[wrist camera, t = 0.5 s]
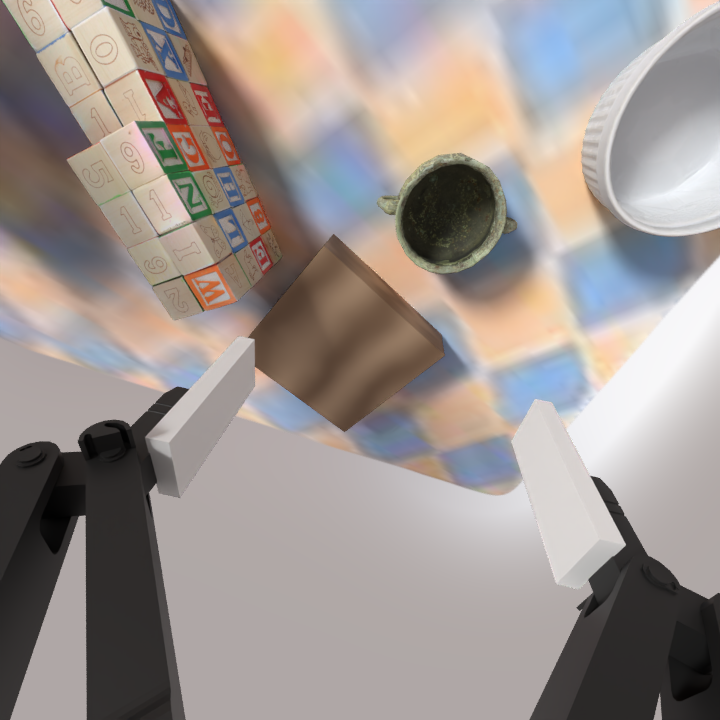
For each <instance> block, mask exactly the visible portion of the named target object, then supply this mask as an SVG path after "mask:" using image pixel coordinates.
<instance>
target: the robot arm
mask: <svg viewBox="0 0 720 720" xmlns="http://www.w3.org/2000/svg"><path fill="white" fill-rule="evenodd" d="M254 387H255V339H251V338H246V337H241V336H238V337H237V338H236V339H235V341H234V342H233V343H232V344H231V345H230V346H229V347H228V348H227V349H226V350H225V351H224V352H223V353H222V355H221V356H220V357H219V358H218V359H217V360H216V361H215V362H214V363H213V364H212V365H211V366H210V368H209V369H208V370H207V371H206V372H205V373H204V374H203V375H202V376H201V377H200V378H199V379H198V380H197V382H196V383H195V384H194V385H193V386H192V387H191V388H190V389H186V388H182V387H176V388H174V389H172V390H170V391H168V392H166V393H164V394H163V395H162V397H160V399H158V401H156V403H155V404H153V405H152V406H151V408H149V409H148V412H145V413H144V414H143V415H142V416H141V417H140V418H139V419H138V420H137V421H136V422H135V424H133V425H132V426H131V427H130V426H129V424H128V423H126V422H124V421H120V420H108V421H103V422H99V423H96V424H94V425H92V426H90V427H89V428H87V429H86V430H85V431H84V432H83V433H82V434H81V435H80V437H79V440H78V444H79V446H80V448H81V451H82V452H65V453H61V452H60V449H59V448H58V446H57V445H56V444H54V443H51V442H35V443H30V444H27V445H25V446H22V447H20V448H18V449H16V450H14V451H13V452H11V453H10V454H8V456H7V457H6V458H5V459H4V460H3V461H2V463H1V464H0V720H10V718H11V715H12V712H13V709H14V706H15V703H16V700H17V697H18V694H19V691H20V688H21V685H22V682H23V679H24V676H25V674H26V670H27V668H28V664H29V662H30V659H31V656H32V653H33V649H34V647H35V644H36V641H37V638H38V635H39V632H40V629H41V626H42V623H43V620H44V617H45V615H46V611H47V609H48V605H49V603H50V600H51V597H52V594H53V591H54V588H55V585H56V582H57V579H58V576H59V573H60V570H61V567H62V564H63V561H64V558H65V555H66V553H67V550H68V546H69V544H70V541H71V538H72V535H73V532H74V529H75V526H76V523H77V520H78V517H79V516H83V515H86V646H87V647H86V652H87V653H86V654H87V655H86V656H87V657H86V660H87V720H186V719H185V714H184V707H183V701H182V695H181V689H180V683H179V676H178V670H177V663H176V657H175V651H174V645H173V639H172V633H171V626H170V619H169V613H168V607H167V601H166V594H165V589H164V583H163V577H162V569H161V563H160V557H159V551H158V544H157V539H156V532H155V526H154V520H153V513H152V507H151V500H150V495H149V492H150V490H151V489H152V488H153V486H154V485H155V484H157V488H158V491H159V493H161V494H165V495H170V496H174V497H178V498H180V497H181V496H182V494H183V493H184V491H185V490H186V488H187V487H188V485H189V484H190V482H191V481H192V479H193V478H194V476H195V475H196V473H197V472H198V470H199V469H200V467H201V466H202V464H203V463H204V461H205V460H206V458H207V457H208V455H209V454H210V452H211V451H212V449H213V448H214V447H215V445H216V444H217V442H218V441H219V439H220V438H221V436H222V435H223V433H224V432H225V430H226V428H227V427H228V426H229V424H230V423H231V421H232V420H233V418H234V417H235V415H236V414H237V412H238V411H239V409H240V408H241V406H242V405H243V403H244V402H245V400H246V399H247V397H248V396H249V394H250V393H251V391H252V390H253V388H254ZM511 442H512V446H513V449H514V452H515V455H516V458H517V461H518V465H519V468H520V471H521V474H522V477H523V480H524V484H525V487H526V490H527V493H528V496H529V499H530V503H531V506H532V509H533V512H534V515H535V518H536V522H537V525H538V528H539V531H540V534H541V537H542V541H543V543H544V547H545V550H546V553H547V556H548V559H549V563H550V566H551V568H552V572H553V575H554V579H555V581H556V584H558V585H563V586H567V587H571V588H575V589H580V588H581V587H582V586H583V585H584V584H585V583H586V582H587V581H588V580H589V582H590V585H591V588H592V590H593V593H592V594H591V595H590V596H589V597H588V598H587V599H585V600H584V601H583V602H582V603H581V604H580V605H579V606H578V607H577V609H578V610H579V611H580V610H581V609H582V611H581V613H580V615H579V617H578V620H577V622H576V624H575V626H574V628H573V630H572V632H571V634H570V636H569V638H568V640H567V643H566V645H565V647H564V649H563V651H562V653H561V655H560V657H559V659H558V662H557V663H556V666H555V668H554V670H553V672H552V674H551V676H550V678H549V680H548V682H547V684H546V686H545V689H544V691H543V693H542V695H541V697H540V699H539V702H538V703H537V705H536V707H535V709H534V712H533V714H532V716H531V718H530V720H653V719H654V715H655V710H656V706H657V702H658V698H659V694H660V697H661V711H662V720H720V593H718V594H716V595H715V596H713V597H712V598H710V599H707V598H705V597H703V596H701V595H699V594H697V593H695V592H693V591H691V590H689V589H686V588H685V587H683V586H681V585H680V584H679V582H678V580H677V579H676V578H675V576H674V575H673V574H672V573H671V571H670V570H668V569H667V568H666V567H665V566H664V565H663V564H661V563H660V562H659V561H657V560H655V559H653V558H652V557H649V556H648V555H647V553H646V552H645V550H644V548H643V546H642V544H641V543H640V541H639V539H638V537H637V535H636V534H635V532H634V530H633V528H632V526H631V525H630V523H629V521H628V519H627V518H626V517H625V516H624V512H623V510H622V509H621V507H620V506H618V504H619V503H618V501H617V500H616V498H615V496H614V494H613V493H612V491H611V490H610V489H609V488H608V486H607V485H606V484H605V483H604V482H603V481H602V480H601V479H600V478H597V477H593V476H590V475H589V473H588V471H587V469H586V467H585V465H584V463H583V461H582V459H581V457H580V455H579V454H578V452H577V450H576V448H575V446H574V444H573V442H572V440H571V438H570V436H569V434H568V432H567V430H566V428H565V427H564V425H563V423H562V421H561V419H560V417H559V415H558V413H557V411H556V409H555V407H554V405H553V403H552V402H547V401H543V400H538V399H535V400H534V402H533V404H532V405H531V407H530V409H529V411H528V413H527V414H526V416H525V418H524V420H523V421H522V423H521V425H520V427H519V429H518V430H517V432H516V434H515V436H514V437H513V439H512V441H511Z"/></svg>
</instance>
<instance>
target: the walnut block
mask: <svg viewBox="0 0 720 720" xmlns="http://www.w3.org/2000/svg"><path fill="white" fill-rule="evenodd" d="M248 338H251V339H255V367H256V368H258V369H259V370H260V371H262V372H263V373H265V374H266V375H267V376H269V377H270V378H271V379H273V380H274V381H276V382H277V383H278V384H280V385H281V386H282V387H284V388H285V389H286V390H288V391H289V392H291V393H292V394H293V395H295V396H296V397H297V398H299V399H300V400H301V401H303V402H304V403H306V404H307V405H308V406H310V407H311V408H312V409H314V410H315V411H317V412H318V413H319V414H321V415H322V416H323V417H325V418H326V419H327V420H329V421H330V422H332V423H333V424H334V425H336V426H337V427H338V428H340V429H341V430H342V431H344V432H345V431H347V430H348V429H349V428H350V427H352V426H353V425H354V424H356V423H357V422H358V421H360V420H361V419H362V418H364V417H365V416H366V415H368V414H369V413H370V412H371V411H373V410H374V409H375V408H377V407H378V406H379V405H381V404H382V403H383V402H385V401H386V400H387V399H388V398H390V397H391V396H392V395H394V394H395V393H396V392H398V391H399V390H400V389H402V388H403V387H404V386H406V385H407V384H408V383H409V382H411V381H412V380H413V379H415V378H416V377H417V376H419V375H420V374H421V373H423V372H424V371H425V370H427V369H428V368H429V367H430V366H432V365H433V364H434V363H436V362H437V361H438V360H440V359H441V358H442V357H444V356H445V354H444V348H443V342H442V335H441V334H440V333H439V332H438V331H437V330H436V329H435V328H434V327H433V326H432V325H431V324H430V323H429V322H428V321H426V320H425V319H424V318H423V317H422V316H421V315H420V314H419V313H418V312H417V311H416V310H415V309H414V308H413V307H411V306H410V305H409V304H408V303H407V302H406V301H405V300H404V299H403V298H402V297H401V296H400V295H399V294H398V293H396V292H395V291H394V290H393V289H392V288H391V287H390V286H389V285H388V284H387V283H386V282H385V281H384V280H383V279H381V278H380V277H379V276H378V275H377V274H376V273H375V272H374V271H373V270H372V269H371V268H370V267H369V266H368V265H366V264H365V263H364V262H363V261H362V260H361V259H360V258H359V257H358V256H357V255H356V254H355V253H354V252H353V251H351V250H350V249H349V248H348V247H347V246H346V245H345V244H344V243H343V242H342V241H341V240H340V239H339V238H338V237H336V236H335V235H334V234H333V235H332V236H331V238H330V239H329V240H328V241H327V242H326V244H325V245H324V246H323V247H322V249H321V250H320V251H319V252H318V253H317V255H316V256H315V257H314V258H313V259H312V261H311V262H310V263H309V264H308V265H307V267H306V268H305V269H304V270H303V272H302V273H301V274H300V275H299V276H298V278H297V279H296V280H295V281H294V282H293V284H292V285H291V286H290V287H289V288H288V290H287V291H286V292H285V293H284V294H283V296H282V297H281V298H280V299H279V301H278V302H277V303H276V304H275V305H274V307H273V308H272V309H271V310H270V311H269V313H268V314H267V315H266V316H265V317H264V319H263V320H262V321H261V322H260V324H259V325H258V326H257V327H256V328H255V330H254V331H253V332H252V333H251V334H250V336H249V337H248Z"/></svg>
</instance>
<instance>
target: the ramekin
mask: <svg viewBox="0 0 720 720" xmlns="http://www.w3.org/2000/svg"><path fill="white" fill-rule="evenodd" d="M581 153H582V160H581V162H582V171H583V174H584V177H585V181H586V183H587V184H588V187H589V189H590V190H591V191H592V193H593V195H594V196H595V197H596V198H597V199H598V200H599V202H600V203H601V204H603V205H604V206H605V207H606V208H608V209H609V210H610V212H611V213H612V214H613V215H614V216H615V217H616V218H617V219H618V220H620V221H621V222H622V223H624V224H625V225H627V226H629V227H631V228H633V229H636V230H639V231H642V232H645V233H648V234H652V235H658V236H666V237H676V236H688V235H695V234H700V233H704V232H708V231H712V230H715V229H718V228H720V1H718V2H716V3H714V4H712V5H710V6H708V7H706V8H705V9H703V10H701V11H700V12H698V13H696V14H695V15H693V16H692V17H690V18H689V19H687V20H686V21H685V22H683V23H682V24H680V25H679V26H678V27H677V28H675V29H674V30H673V31H672V32H670V33H669V34H668V35H667V36H666V37H665V38H663V39H662V40H660V41H659V42H657V43H656V44H654V45H653V46H651V47H650V48H648V49H647V50H646V51H644V52H643V53H642V54H641V55H640V56H638V57H637V58H636V59H634V60H633V61H632V62H631V63H630V64H629V65H628V67H626V68H625V69H624V70H623V71H621V72H620V74H619V75H618V76H617V78H616V79H615V80H614V81H613V82H612V83H611V84H610V85H609V87H608V89H607V91H606V92H605V93H604V94H603V95H602V97H601V99H600V101H599V103H598V104H597V105H596V107H595V109H594V112H593V114H592V115H591V117H590V119H589V123H588V125H587V128H586V131H585V136H584V139H583V147H582V151H581Z"/></svg>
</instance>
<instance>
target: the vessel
mask: <svg viewBox="0 0 720 720" xmlns="http://www.w3.org/2000/svg"><path fill="white" fill-rule="evenodd" d="M377 205H378V206H379V207H380V208H381V209H382V210H384V212H385V213H387V214H389V215H396V217H395V223H396V232H397V237H398V240H399V242H400V244H401V246H402V248H403V250H404V252H405V254H406V255H407V256H408V257H409V258H410V259H411V260H412V261H413V262H414V263H415V264H416V265H417V266H419V267H421V268H423V269H425V270H427V271H429V272H432V273H436V274H448V273H457V272H460V271H462V270H465V269H467V268H470V267H472V266H474V265H475V264H476V263H478V262H479V261H480V260H481V259H483V258H484V257H485V256H486V255H488V254H489V252H490V251H491V250H492V249H493V248H494V247H495V245H496V243H497V242H498V240H499V239H500V237H501V235H502V233H504V234H507V233H510V232H511V231H514V230H515V229H516V228H517V222H516V221H515V220H513V219H511V218H508V217H506V214H507V209H506V199H505V196H504V193H503V190H502V187H501V184H500V181H499V180H498V178H497V177H496V176H495V174H494V173H493V172H492V170H491V169H490V168H489V167H487V166H486V165H484V164H482V163H480V162H478V161H476V160H475V159H472V158H470V157H468V156H466V155H464V154H462V153H457V154H446V155H438V156H436V157H434V158H432V159H430V160H428V161H426V162H424V163H423V164H421V165H420V166H419V167H418V168H417V170H416V171H415V172H414V173H413V174H412V175H411V176H410V177H409V178H408V179H407V180H406V181H405V183H404V185H403V187H402V188H401V191H400V193H399V196H382V197H380V198H378V200H377Z"/></svg>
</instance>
